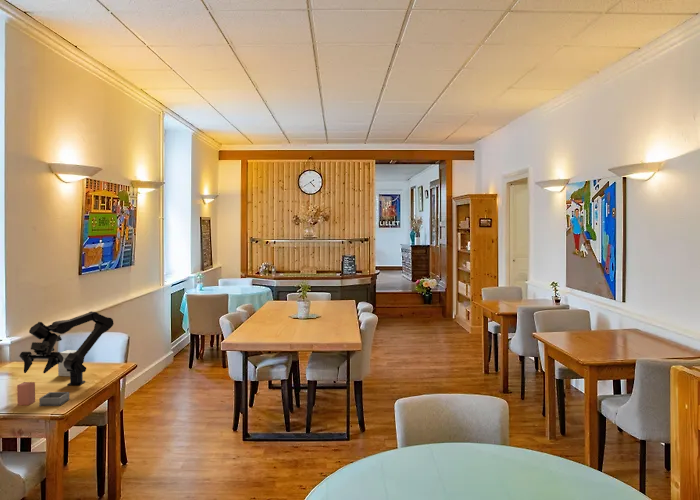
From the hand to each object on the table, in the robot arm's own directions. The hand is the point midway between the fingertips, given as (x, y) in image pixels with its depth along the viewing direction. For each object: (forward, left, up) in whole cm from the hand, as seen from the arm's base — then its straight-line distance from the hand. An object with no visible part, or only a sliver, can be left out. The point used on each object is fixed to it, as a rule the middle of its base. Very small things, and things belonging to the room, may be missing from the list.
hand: (34, 372), depth 247 cm
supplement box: (-42, -3, -12) cm, 44 cm away
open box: (+6, +12, -12) cm, 18 cm away
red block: (+6, 0, -12) cm, 14 cm away
